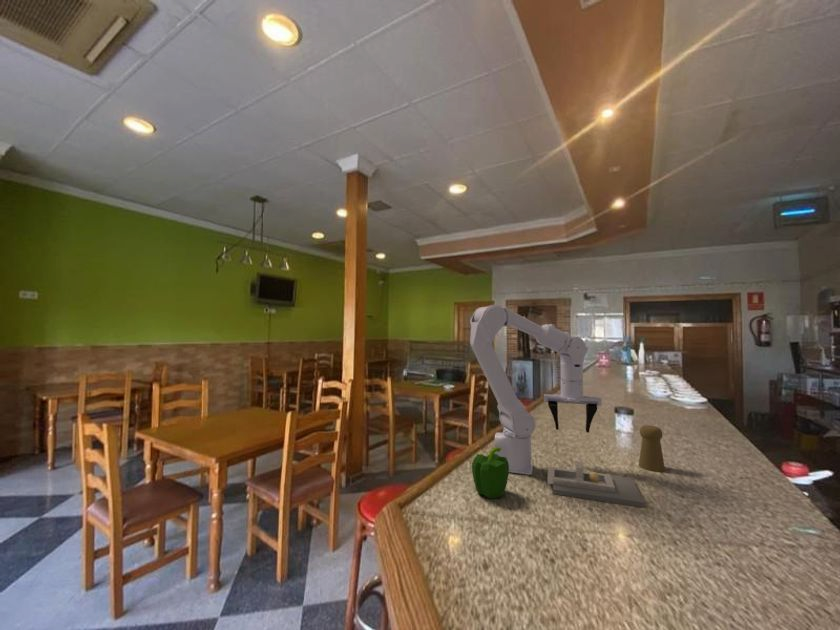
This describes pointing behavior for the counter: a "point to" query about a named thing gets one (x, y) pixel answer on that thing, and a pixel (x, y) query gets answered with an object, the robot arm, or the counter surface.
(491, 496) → the bell pepper
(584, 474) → the double window frame
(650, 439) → the cork
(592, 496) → the plate
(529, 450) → the robot arm
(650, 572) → the counter surface
